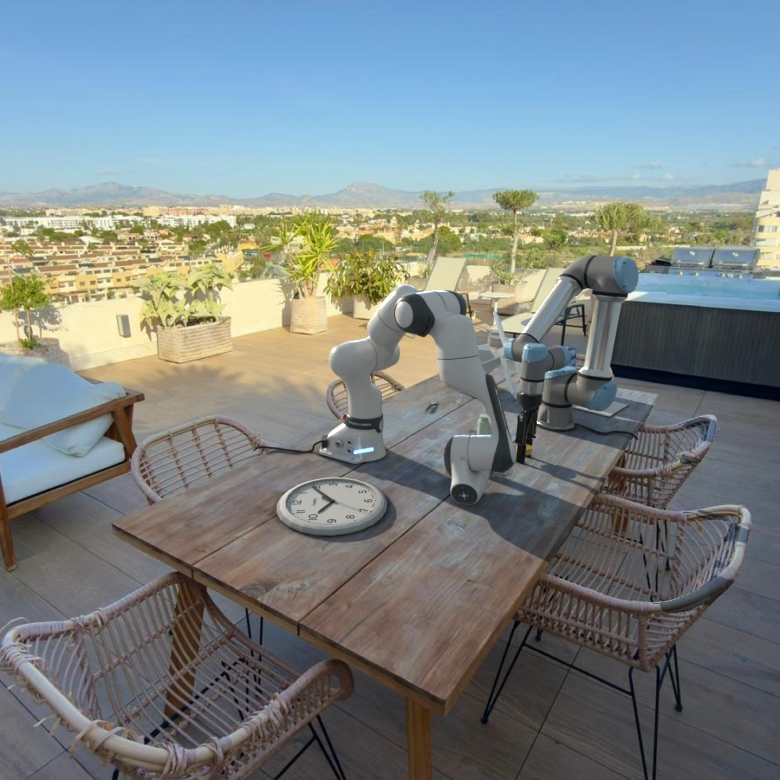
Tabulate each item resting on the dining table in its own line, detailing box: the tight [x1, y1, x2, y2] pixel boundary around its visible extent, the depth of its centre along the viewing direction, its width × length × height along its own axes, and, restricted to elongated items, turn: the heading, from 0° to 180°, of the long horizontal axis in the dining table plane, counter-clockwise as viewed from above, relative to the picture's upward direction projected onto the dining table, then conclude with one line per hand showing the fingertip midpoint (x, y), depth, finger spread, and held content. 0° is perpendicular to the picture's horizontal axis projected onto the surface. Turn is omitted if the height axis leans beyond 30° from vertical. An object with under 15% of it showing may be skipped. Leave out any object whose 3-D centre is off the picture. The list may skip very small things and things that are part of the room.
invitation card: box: [573, 400, 629, 418], centre depth 226 cm, size 21×1×15 cm
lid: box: [515, 444, 534, 456], centre depth 173 cm, size 5×5×2 cm
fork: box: [425, 396, 439, 412], centre depth 222 cm, size 3×16×2 cm, turn 160°
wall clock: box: [276, 476, 388, 537], centre depth 142 cm, size 30×2×30 cm
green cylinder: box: [476, 413, 492, 435], centre depth 161 cm, size 4×4×19 cm
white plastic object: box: [443, 310, 522, 400], centre depth 245 cm, size 37×45×31 cm
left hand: (483, 451), depth 163 cm, fingers closed on green cylinder, 4 cm apart
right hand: (523, 458), depth 174 cm, fingers closed on lid, 5 cm apart
